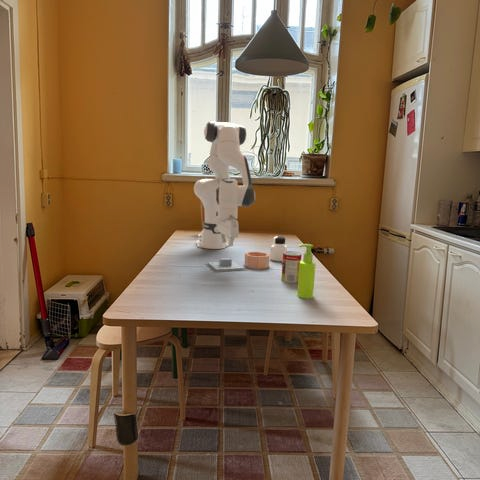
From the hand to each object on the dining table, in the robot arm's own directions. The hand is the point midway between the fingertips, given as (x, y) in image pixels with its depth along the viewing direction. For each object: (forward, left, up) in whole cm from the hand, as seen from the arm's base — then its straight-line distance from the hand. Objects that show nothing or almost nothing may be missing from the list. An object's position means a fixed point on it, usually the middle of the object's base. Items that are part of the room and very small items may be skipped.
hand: (227, 244), depth 187 cm
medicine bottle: (-11, +33, -12) cm, 37 cm away
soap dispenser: (+45, +16, -12) cm, 49 cm away
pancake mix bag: (-84, +21, -12) cm, 88 cm away
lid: (0, 0, -11) cm, 11 cm away
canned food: (+25, +21, -12) cm, 34 cm away
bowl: (0, +16, -12) cm, 19 cm away
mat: (0, 0, -12) cm, 12 cm away
